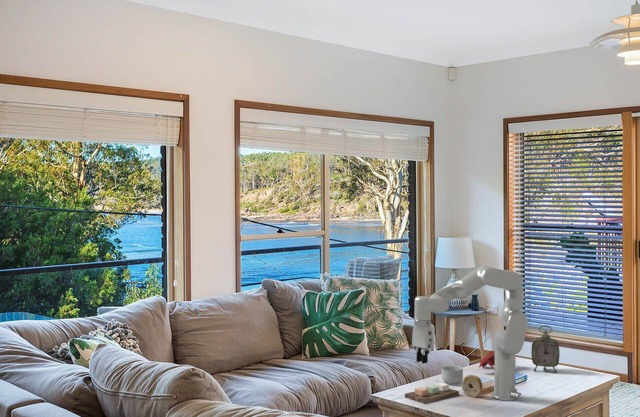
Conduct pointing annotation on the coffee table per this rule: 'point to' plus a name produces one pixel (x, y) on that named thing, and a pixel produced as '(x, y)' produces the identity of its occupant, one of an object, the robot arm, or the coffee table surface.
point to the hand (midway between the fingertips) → (422, 362)
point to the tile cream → (443, 386)
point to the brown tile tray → (432, 396)
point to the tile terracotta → (421, 391)
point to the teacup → (452, 374)
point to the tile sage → (432, 389)
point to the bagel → (469, 388)
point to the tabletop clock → (545, 351)
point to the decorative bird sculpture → (488, 360)
